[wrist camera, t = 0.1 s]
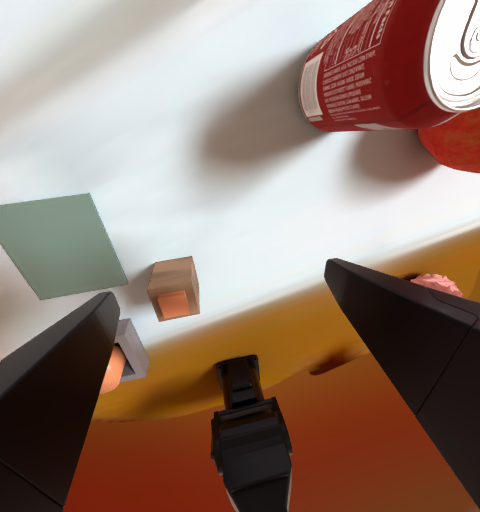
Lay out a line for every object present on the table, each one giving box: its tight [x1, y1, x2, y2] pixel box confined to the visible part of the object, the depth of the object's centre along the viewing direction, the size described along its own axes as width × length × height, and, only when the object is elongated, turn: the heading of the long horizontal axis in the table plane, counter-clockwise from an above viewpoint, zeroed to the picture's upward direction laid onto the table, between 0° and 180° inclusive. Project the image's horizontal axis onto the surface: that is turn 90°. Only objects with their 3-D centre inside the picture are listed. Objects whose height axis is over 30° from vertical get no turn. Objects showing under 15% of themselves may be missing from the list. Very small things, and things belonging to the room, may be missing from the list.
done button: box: [99, 345, 127, 394], centre depth 26 cm, size 5×5×3 cm
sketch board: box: [0, 193, 128, 300], centre depth 22 cm, size 10×9×1 cm
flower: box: [410, 273, 470, 300], centre depth 31 cm, size 8×8×6 cm
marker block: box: [147, 256, 200, 322], centre depth 23 cm, size 4×4×6 cm
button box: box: [115, 319, 149, 383], centre depth 27 cm, size 8×8×2 cm
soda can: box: [298, 0, 480, 132], centre depth 14 cm, size 7×7×12 cm
